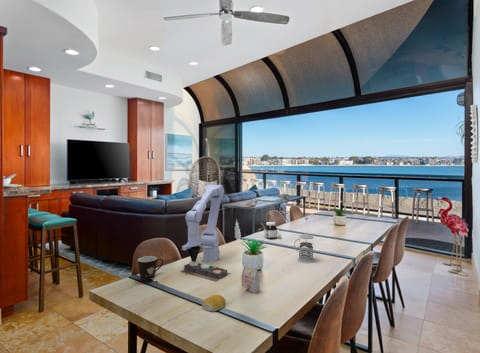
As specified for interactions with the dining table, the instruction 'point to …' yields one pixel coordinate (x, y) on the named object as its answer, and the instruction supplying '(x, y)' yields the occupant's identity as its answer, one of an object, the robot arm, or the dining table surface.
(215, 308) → the bread roll
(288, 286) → the dining table surface
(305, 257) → the french press
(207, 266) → the sage button
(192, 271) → the button panel
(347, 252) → the dining table surface
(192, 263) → the cream button
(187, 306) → the dining table surface
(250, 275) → the tea bag
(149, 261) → the coffee mug
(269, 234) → the spread jar
